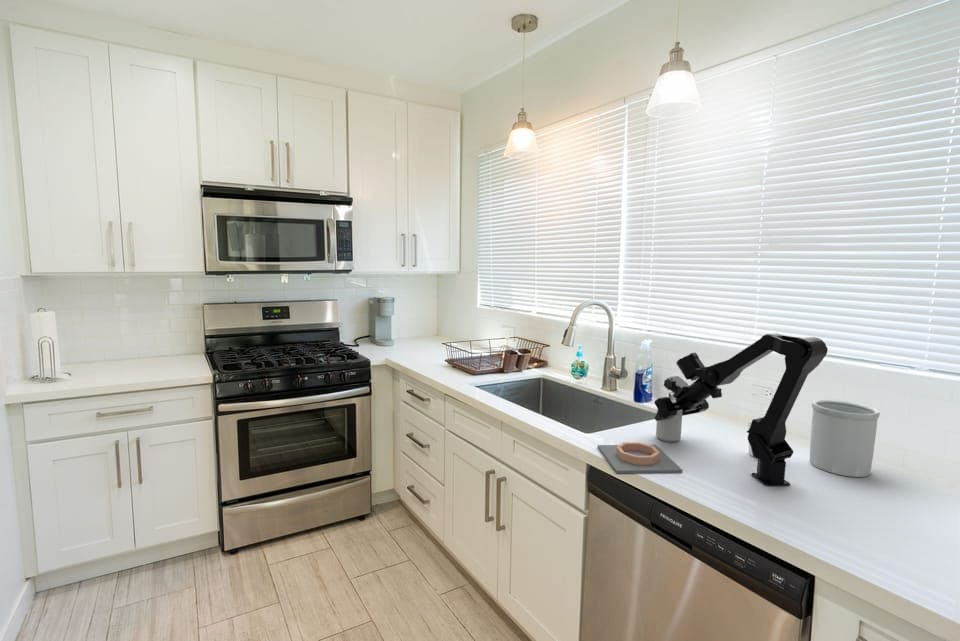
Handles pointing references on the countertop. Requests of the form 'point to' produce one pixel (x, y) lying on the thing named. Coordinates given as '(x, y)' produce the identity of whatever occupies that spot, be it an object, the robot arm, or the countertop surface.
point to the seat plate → (638, 458)
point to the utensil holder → (843, 437)
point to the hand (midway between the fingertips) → (665, 417)
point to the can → (670, 428)
